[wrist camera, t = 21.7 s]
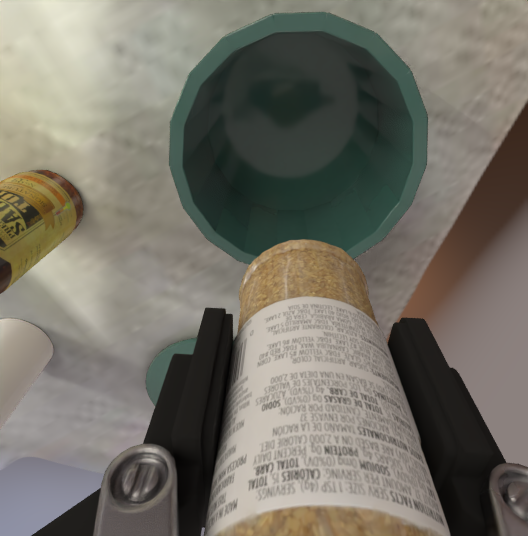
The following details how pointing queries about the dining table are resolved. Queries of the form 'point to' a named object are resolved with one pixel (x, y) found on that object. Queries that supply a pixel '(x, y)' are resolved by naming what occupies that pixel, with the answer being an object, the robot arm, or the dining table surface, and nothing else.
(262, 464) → the sprinkles bottle
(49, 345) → the cylindrical container
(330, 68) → the canister
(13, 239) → the sauce bottle
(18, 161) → the dining table surface
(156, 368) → the lid
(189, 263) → the dining table surface
